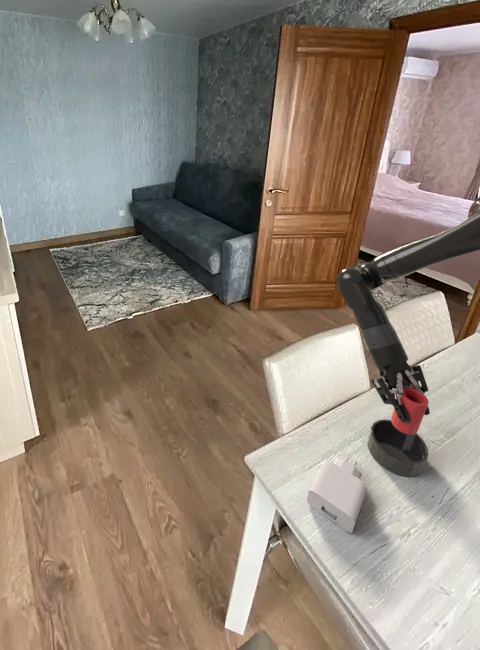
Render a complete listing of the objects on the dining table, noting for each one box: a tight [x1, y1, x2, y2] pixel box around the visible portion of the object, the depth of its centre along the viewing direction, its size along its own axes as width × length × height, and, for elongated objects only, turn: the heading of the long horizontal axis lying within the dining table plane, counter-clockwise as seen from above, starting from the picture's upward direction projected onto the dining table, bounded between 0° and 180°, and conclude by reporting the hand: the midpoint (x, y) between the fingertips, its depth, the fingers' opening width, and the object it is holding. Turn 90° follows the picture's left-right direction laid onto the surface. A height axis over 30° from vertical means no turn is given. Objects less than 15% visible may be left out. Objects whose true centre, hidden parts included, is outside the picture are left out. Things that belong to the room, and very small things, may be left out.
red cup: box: [390, 387, 429, 435], centre depth 80 cm, size 5×5×9 cm
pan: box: [366, 418, 430, 478], centre depth 85 cm, size 12×12×4 cm
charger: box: [306, 456, 368, 534], centre depth 76 cm, size 5×9×15 cm
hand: (416, 417), depth 79 cm, fingers closed on red cup, 5 cm apart
